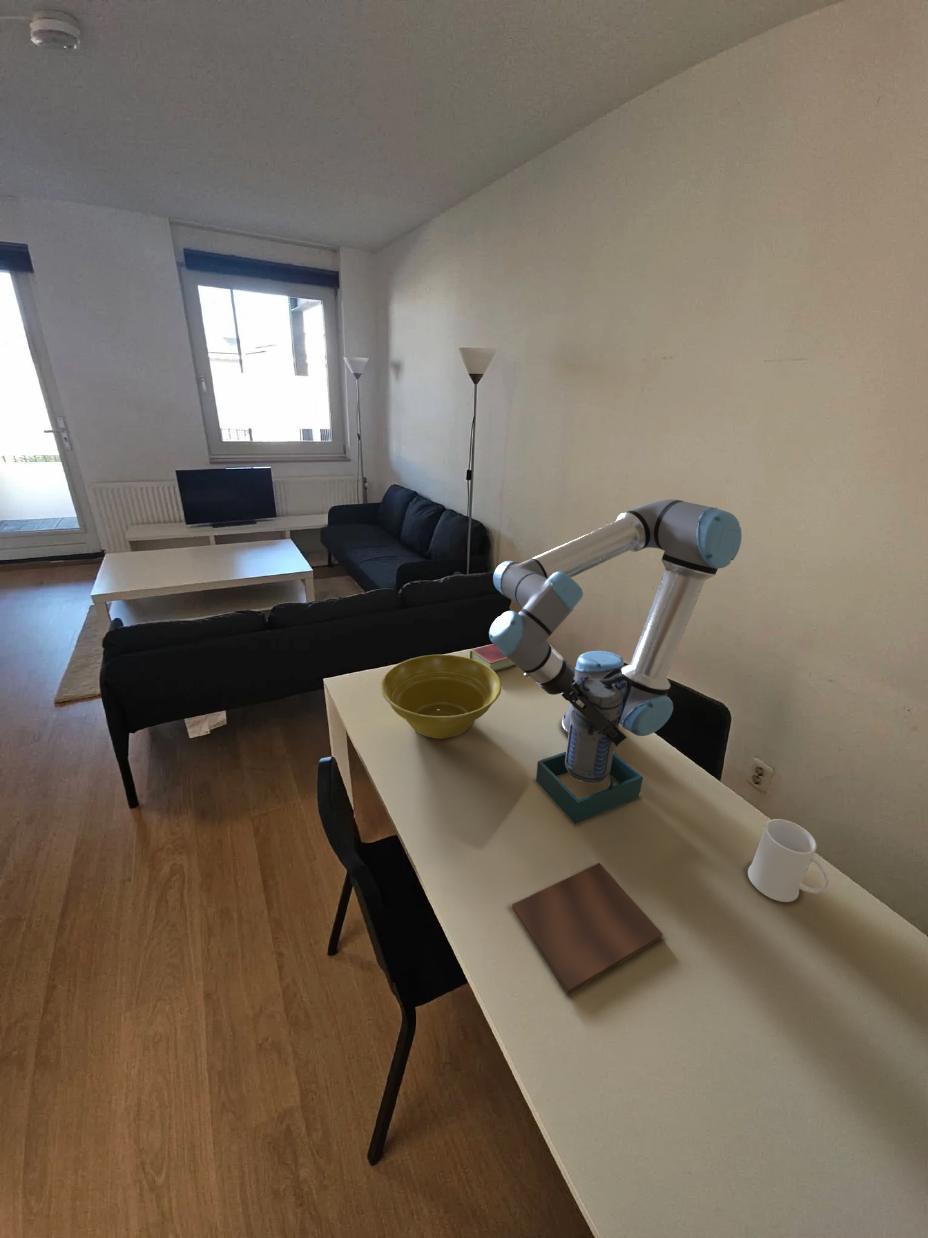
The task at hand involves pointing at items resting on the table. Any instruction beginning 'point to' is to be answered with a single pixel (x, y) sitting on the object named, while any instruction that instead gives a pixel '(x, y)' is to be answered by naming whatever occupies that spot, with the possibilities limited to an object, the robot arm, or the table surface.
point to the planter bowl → (440, 693)
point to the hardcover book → (491, 658)
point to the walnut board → (585, 926)
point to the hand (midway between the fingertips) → (609, 725)
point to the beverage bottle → (585, 745)
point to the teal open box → (594, 802)
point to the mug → (784, 861)
